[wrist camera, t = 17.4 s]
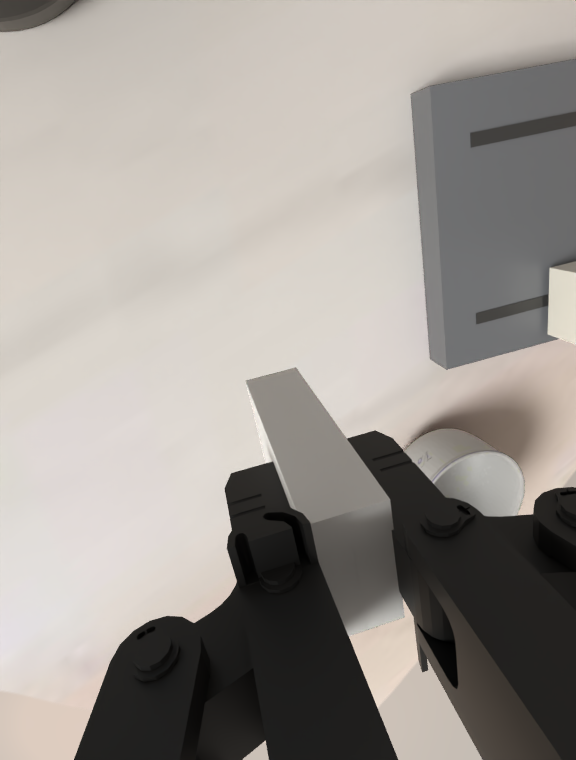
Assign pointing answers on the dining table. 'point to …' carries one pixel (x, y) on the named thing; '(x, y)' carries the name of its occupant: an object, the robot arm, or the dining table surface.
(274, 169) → the dining table surface
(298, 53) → the dining table surface
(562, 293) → the block
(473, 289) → the console
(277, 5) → the dining table surface
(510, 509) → the teacup
